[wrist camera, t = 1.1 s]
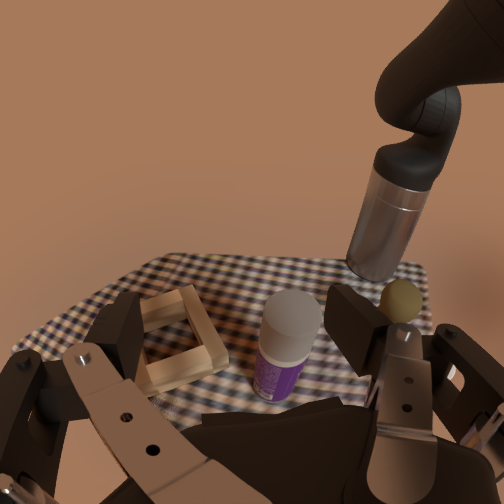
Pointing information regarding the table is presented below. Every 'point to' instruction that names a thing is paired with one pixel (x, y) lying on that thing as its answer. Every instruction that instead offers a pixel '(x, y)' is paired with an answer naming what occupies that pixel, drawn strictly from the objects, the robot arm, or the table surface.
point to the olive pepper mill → (400, 301)
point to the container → (284, 342)
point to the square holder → (189, 362)
